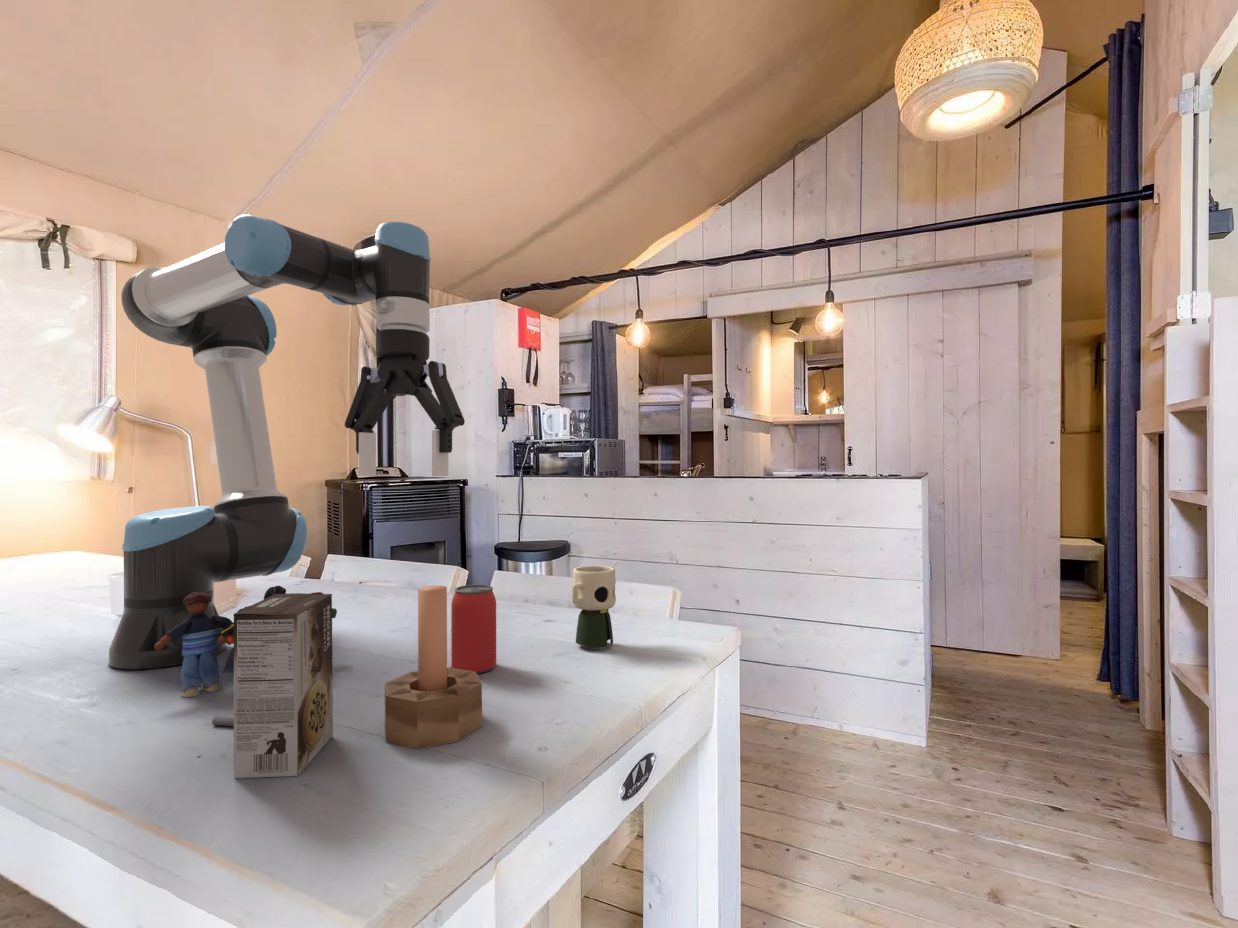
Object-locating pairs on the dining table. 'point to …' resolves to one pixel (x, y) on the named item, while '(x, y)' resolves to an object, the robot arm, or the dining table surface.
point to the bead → (432, 710)
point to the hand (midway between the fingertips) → (402, 476)
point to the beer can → (473, 628)
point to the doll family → (206, 643)
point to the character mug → (594, 604)
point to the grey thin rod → (223, 721)
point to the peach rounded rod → (432, 638)
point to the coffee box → (282, 684)
